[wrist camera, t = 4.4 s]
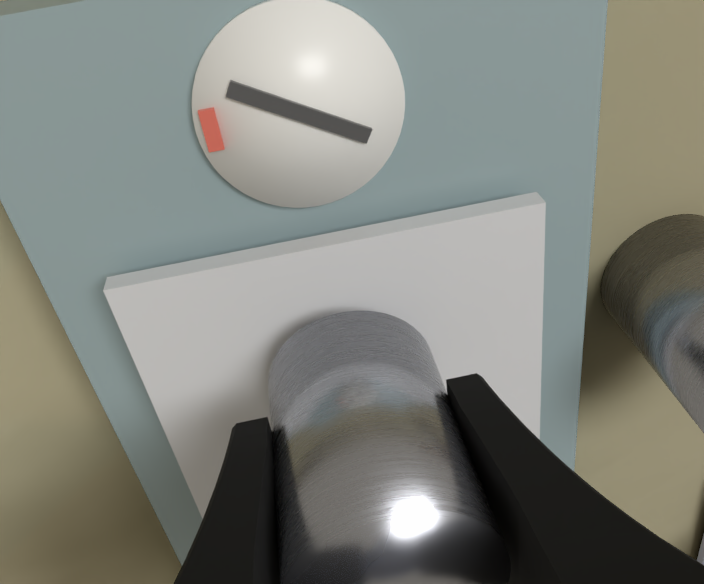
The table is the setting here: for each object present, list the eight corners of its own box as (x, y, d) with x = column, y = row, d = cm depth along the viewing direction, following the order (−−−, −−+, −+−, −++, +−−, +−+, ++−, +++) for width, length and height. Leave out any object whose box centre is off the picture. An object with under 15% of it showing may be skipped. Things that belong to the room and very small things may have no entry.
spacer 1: (437, 421, 16) (508, 629, 12) (284, 451, 15) (301, 673, 11) (429, 296, 14) (513, 494, 10) (252, 328, 13) (260, 544, 9)
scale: (549, 529, 24) (579, 595, 22) (221, 600, 24) (220, 675, 22) (575, -104, 13) (643, -92, 11) (-51, 10, 12) (-109, 46, 10)
